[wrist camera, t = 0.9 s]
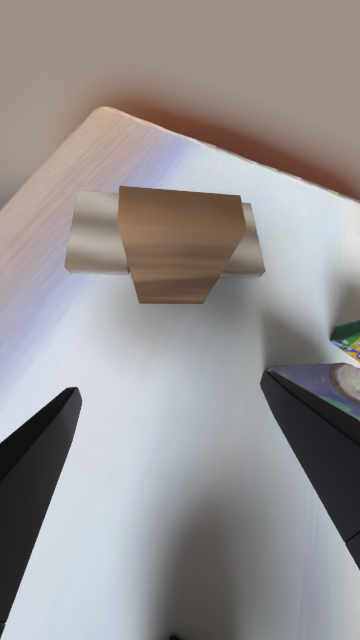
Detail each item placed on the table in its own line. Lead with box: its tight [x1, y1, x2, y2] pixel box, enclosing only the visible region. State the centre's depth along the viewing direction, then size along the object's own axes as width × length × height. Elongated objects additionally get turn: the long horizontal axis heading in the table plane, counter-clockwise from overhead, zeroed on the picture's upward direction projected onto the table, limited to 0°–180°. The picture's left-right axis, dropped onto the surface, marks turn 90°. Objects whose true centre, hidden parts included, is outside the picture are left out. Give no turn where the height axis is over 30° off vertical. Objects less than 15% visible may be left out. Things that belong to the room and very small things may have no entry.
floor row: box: [64, 191, 265, 277], centre depth 24 cm, size 13×25×2 cm, turn 92°
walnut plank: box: [117, 186, 247, 304], centre depth 17 cm, size 3×8×12 cm, turn 92°
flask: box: [266, 363, 360, 421], centre depth 15 cm, size 9×3×11 cm, turn 52°
